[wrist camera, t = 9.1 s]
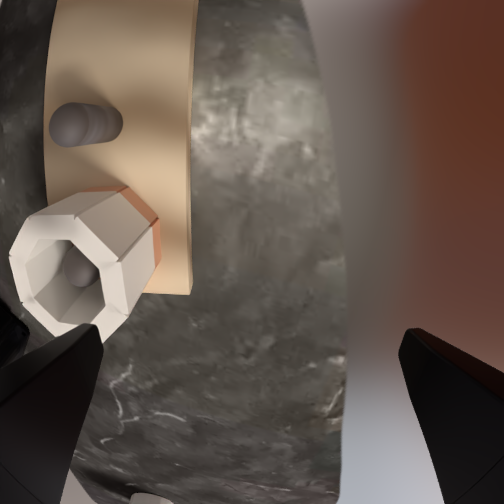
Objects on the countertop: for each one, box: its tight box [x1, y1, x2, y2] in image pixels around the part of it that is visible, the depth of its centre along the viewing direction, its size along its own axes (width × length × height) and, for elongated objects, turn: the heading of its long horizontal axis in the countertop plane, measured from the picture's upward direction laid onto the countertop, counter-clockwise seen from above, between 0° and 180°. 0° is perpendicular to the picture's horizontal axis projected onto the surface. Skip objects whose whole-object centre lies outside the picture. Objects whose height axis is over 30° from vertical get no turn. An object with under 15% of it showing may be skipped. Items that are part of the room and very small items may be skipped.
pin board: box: [44, 0, 199, 295], centre depth 13 cm, size 20×9×6 cm, turn 178°
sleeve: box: [9, 186, 162, 343], centre depth 14 cm, size 6×6×6 cm
